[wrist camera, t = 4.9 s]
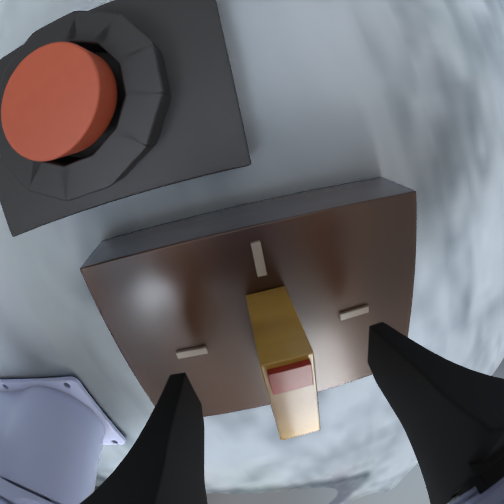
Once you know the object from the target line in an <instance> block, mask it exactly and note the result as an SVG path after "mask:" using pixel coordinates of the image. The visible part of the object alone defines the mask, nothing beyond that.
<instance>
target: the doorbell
mask: <svg viewBox="0 0 504 504" xmlns="http://www.w3.org/2000/svg"><path fill="white" fill-rule="evenodd" d="M54 42H71V43H74V44H77V45H79V46H81V47H83V48H85V49H87V50H89V51H90V52H92V53H94V54H96V55H98V56H100V57H101V58H102V59H104V60H105V61H106V62H107V63H108V65H109V66H110V67H111V69H112V71H113V73H114V75H115V79H116V82H117V104H116V108H115V112H114V115H113V117H112V120H111V122H110V124H109V125H108V127H107V129H106V130H105V132H104V133H103V134H102V136H101V137H100V138H99V139H98V140H97V141H96V142H95V143H93V144H92V145H91V146H89V147H88V148H86V149H85V150H83V151H80V152H78V153H75V154H71V155H68V156H64V157H61V158H58V159H54V160H51V161H44V162H38V161H32V160H29V159H26V158H25V157H23V156H21V155H20V154H18V153H17V152H16V151H15V150H14V149H13V148H12V147H11V145H10V144H9V142H8V140H7V139H6V136H5V134H4V131H3V127H2V121H1V106H2V99H3V95H4V91H5V88H6V86H7V83H8V81H9V79H10V77H11V75H12V74H13V72H14V71H15V69H16V68H17V66H18V65H19V64H20V63H21V62H22V61H23V60H24V59H25V58H26V57H27V56H28V55H29V54H30V53H32V52H33V51H35V50H36V49H38V48H40V47H42V46H44V45H47V44H50V43H54ZM249 165H251V160H250V156H249V151H248V146H247V141H246V136H245V132H244V127H243V122H242V117H241V113H240V108H239V103H238V98H237V94H236V89H235V85H234V80H233V75H232V71H231V66H230V62H229V57H228V53H227V48H226V44H225V39H224V35H223V30H222V26H221V22H220V17H219V13H218V8H217V4H216V0H114V1H112V2H109V3H106V4H104V5H101V6H99V7H96V8H94V9H92V10H89V11H74V12H72V13H70V14H68V15H66V16H63V17H61V18H60V19H58V20H56V21H54V22H52V23H50V24H48V25H46V26H44V27H43V28H41V29H39V30H37V31H36V32H34V33H33V34H32V35H31V36H30V37H29V39H28V40H27V41H26V42H25V44H24V45H22V46H20V47H19V48H17V49H16V50H14V51H12V52H11V53H9V54H8V55H6V56H5V57H3V58H2V59H1V60H0V202H1V205H2V208H3V211H4V214H5V217H6V220H7V223H8V226H9V229H10V231H11V234H12V236H13V237H14V236H17V235H19V234H22V233H24V232H27V231H29V230H32V229H35V228H37V227H40V226H42V225H45V224H48V223H51V222H53V221H56V220H59V219H61V218H64V217H67V216H70V215H73V214H76V213H79V212H82V211H84V210H87V209H90V208H93V207H97V206H100V205H103V204H106V203H109V202H112V201H115V200H119V199H122V198H125V197H128V196H132V195H135V194H138V193H142V192H145V191H149V190H152V189H156V188H159V187H163V186H167V185H170V184H174V183H178V182H182V181H186V180H190V179H194V178H198V177H202V176H206V175H210V174H214V173H218V172H222V171H227V170H231V169H236V168H240V167H245V166H249Z"/></svg>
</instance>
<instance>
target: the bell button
mask: <svg viewBox="0 0 504 504" xmlns="http://www.w3.org/2000/svg"><path fill="white" fill-rule="evenodd" d="M116 104H117V82H116V79H115V75H114V73H113V71H112V69H111V67H110V66H109V65H108V63H107V62H106V61H105V60H104V59H102V58H101V57H100V56H98V55H96V54H94V53H92V52H90V51H89V50H87V49H85V48H83V47H81V46H79V45H77V44H74V43H71V42H54V43H50V44H47V45H44V46H42V47H40V48H38V49H36V50H35V51H33V52H32V53H30V54H29V55H28V56H27V57H26V58H25V59H24V60H23V61H22V62H21V63H20V64H19V65H18V66H17V68H16V69H15V71H14V72H13V74H12V75H11V77H10V79H9V81H8V83H7V86H6V88H5V91H4V95H3V99H2V106H1V121H2V127H3V131H4V134H5V136H6V139H7V140H8V142H9V144H10V145H11V147H12V148H13V149H14V150H15V151H16V152H17V153H18V154H20V155H21V156H23V157H25V158H26V159H29V160H32V161H38V162H44V161H51V160H54V159H58V158H61V157H64V156H68V155H71V154H75V153H78V152H80V151H83V150H85V149H86V148H88V147H89V146H91V145H92V144H93V143H95V142H96V141H97V140H98V139H99V138H100V137H101V136H102V134H103V133H104V132H105V130H106V129H107V127H108V125H109V124H110V122H111V120H112V117H113V115H114V112H115V108H116Z"/></svg>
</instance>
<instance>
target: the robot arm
mask: <svg viewBox="0 0 504 504" xmlns="http://www.w3.org/2000/svg"><path fill="white" fill-rule="evenodd" d="M367 363H368V365H369V367H370V369H371V372H372V374H373V376H374V378H375V380H376V383H377V384H378V386H379V388H380V389H381V391H382V392H383V394H384V396H385V397H386V399H387V401H388V402H389V404H390V405H391V407H392V409H393V410H394V412H395V414H396V415H397V417H398V418H399V420H400V422H401V424H402V426H403V427H404V429H405V431H406V434H407V436H408V438H409V441H410V443H411V445H412V448H413V450H414V453H415V455H416V458H417V460H418V463H419V466H420V469H421V472H422V475H423V478H424V481H425V484H426V488H427V491H428V495H429V498H430V503H431V504H504V379H502V378H497V377H493V376H489V375H486V374H482V373H479V372H476V371H473V370H470V369H467V368H465V367H463V366H460V365H458V364H455V363H453V362H451V361H449V360H446V359H445V358H443V357H441V356H439V355H437V354H435V353H433V352H431V351H429V350H428V349H426V348H424V347H422V346H421V345H419V344H417V343H416V342H414V341H412V340H411V339H409V338H408V337H406V336H405V335H403V334H401V333H400V332H398V331H397V330H395V329H394V328H392V327H391V326H389V325H388V324H386V323H384V322H380V323H377V324H374V325H371V326H369V343H368V360H367ZM123 444H126V438H125V437H124V436H123V435H122V434H121V433H120V431H119V430H118V429H117V428H116V427H115V426H114V425H113V423H112V422H111V421H110V420H109V419H108V417H107V416H106V415H105V414H104V413H103V411H102V410H101V409H100V408H99V406H98V405H97V404H96V402H95V401H94V400H93V399H92V397H91V396H90V395H89V393H88V392H87V391H86V389H85V388H84V387H83V385H82V384H81V382H80V381H79V380H78V379H77V378H75V377H72V376H69V377H55V378H37V379H0V504H207V497H206V490H205V481H204V420H203V411H202V404H201V402H200V400H199V398H198V396H197V394H196V392H195V391H194V389H193V387H192V385H191V383H190V381H189V379H188V377H187V375H186V373H185V372H184V373H178V374H172V375H170V376H169V378H168V380H167V382H166V384H165V387H164V389H163V391H162V393H161V395H160V397H159V400H158V402H157V404H156V406H155V408H154V410H153V412H152V414H151V416H150V418H149V420H148V421H147V423H146V425H145V427H144V428H143V430H142V432H141V434H140V435H139V437H138V439H137V440H136V442H135V444H134V445H133V447H132V448H131V450H130V451H129V452H128V454H127V455H126V457H125V458H124V459H123V460H122V462H121V463H120V464H119V466H118V467H117V468H116V469H115V470H114V472H113V473H112V474H111V475H110V476H109V477H108V478H107V479H106V480H105V481H104V482H103V483H102V484H101V485H100V486H99V487H98V488H97V489H96V490H95V491H94V488H95V482H96V476H97V471H98V465H99V460H100V455H101V450H102V445H123Z"/></svg>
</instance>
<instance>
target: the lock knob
mask: <svg viewBox="0 0 504 504" xmlns="http://www.w3.org/2000/svg"><path fill="white" fill-rule="evenodd" d="M246 301H247V305H248V310H249V315H250V320H251V325H252V330H253V334H254V339H255V344H256V349H257V354H258V358H259V363H260V367H261V371H262V375H263V378H264V382H265V386H266V389H267V393H268V396H269V400H270V404H271V407H272V411H273V414H274V418H275V421H276V425H277V429H278V432H279V436H280V439H281V440H285V439H289V438H293V437H297V436H301V435H304V434H308V433H312V432H315V431H319V430H320V419H319V406H318V394H317V382H316V371H315V361H314V352H313V350H312V347H311V345H310V343H309V340H308V338H307V336H306V333H305V331H304V329H303V326H302V324H301V322H300V319H299V317H298V315H297V313H296V310H295V308H294V306H293V303H292V301H291V299H290V296H289V294H288V292H287V290H286V287H285V286H282V287H278V288H274V289H270V290H266V291H262V292H258V293H253V294H249V295H246Z"/></svg>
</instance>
